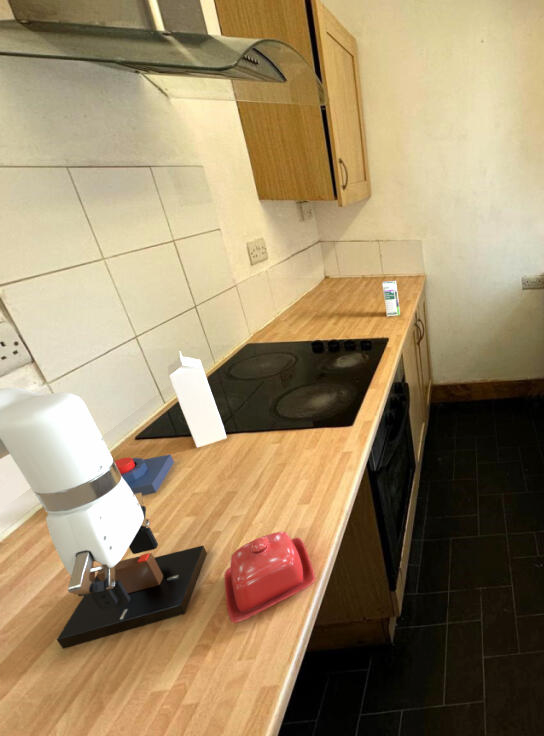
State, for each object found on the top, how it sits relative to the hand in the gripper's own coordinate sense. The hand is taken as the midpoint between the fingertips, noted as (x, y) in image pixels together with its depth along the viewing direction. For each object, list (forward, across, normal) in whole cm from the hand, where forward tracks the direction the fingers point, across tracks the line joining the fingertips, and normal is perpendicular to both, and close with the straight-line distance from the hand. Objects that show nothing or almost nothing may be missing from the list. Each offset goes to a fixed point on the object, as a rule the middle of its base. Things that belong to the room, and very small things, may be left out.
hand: (132, 575), depth 61 cm
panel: (+4, 0, 0) cm, 4 cm away
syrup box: (+5, -123, +48) cm, 132 cm away
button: (+1, -31, -13) cm, 34 cm away
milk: (+5, -44, -2) cm, 44 cm away
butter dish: (+5, +4, +18) cm, 19 cm away
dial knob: (+2, 0, 0) cm, 2 cm away
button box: (+4, -31, -13) cm, 34 cm away
